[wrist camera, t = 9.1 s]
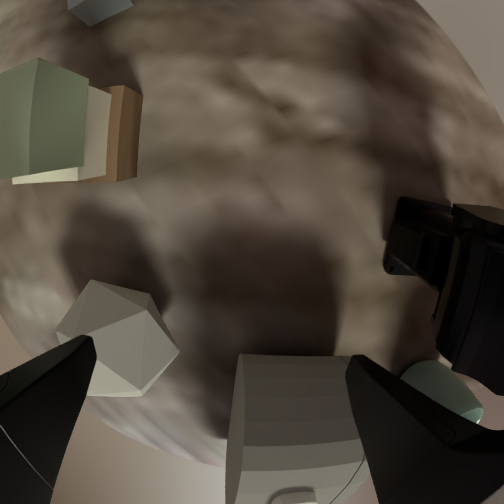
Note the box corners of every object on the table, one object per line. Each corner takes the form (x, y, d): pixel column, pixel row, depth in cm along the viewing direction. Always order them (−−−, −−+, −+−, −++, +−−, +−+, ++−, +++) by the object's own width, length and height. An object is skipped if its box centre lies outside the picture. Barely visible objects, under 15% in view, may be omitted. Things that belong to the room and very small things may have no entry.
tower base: (143, 96, 18) (124, 85, 14) (137, 176, 19) (116, 182, 16) (75, 103, 17) (47, 96, 13) (70, 177, 19) (42, 183, 15)
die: (92, 249, 21) (19, 340, 15) (168, 262, 18) (74, 397, 11) (138, 312, 27) (84, 393, 21) (212, 336, 23) (153, 441, 17)
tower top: (111, 94, 14) (84, 83, 11) (105, 174, 15) (77, 180, 12) (48, 104, 13) (17, 99, 10) (44, 177, 15) (12, 184, 12)
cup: (449, 346, 27) (495, 399, 17) (423, 394, 29) (457, 448, 20) (401, 351, 26) (447, 417, 16) (375, 402, 28) (406, 466, 19)
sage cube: (89, 79, 10) (38, 57, 6) (84, 166, 12) (29, 174, 8) (25, 96, 10) (-29, 88, 6) (21, 174, 12) (-34, 186, 7)
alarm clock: (298, 451, 31) (315, 537, 18) (225, 452, 30) (226, 542, 17) (347, 327, 24) (414, 444, 12) (241, 322, 23) (248, 467, 11)
